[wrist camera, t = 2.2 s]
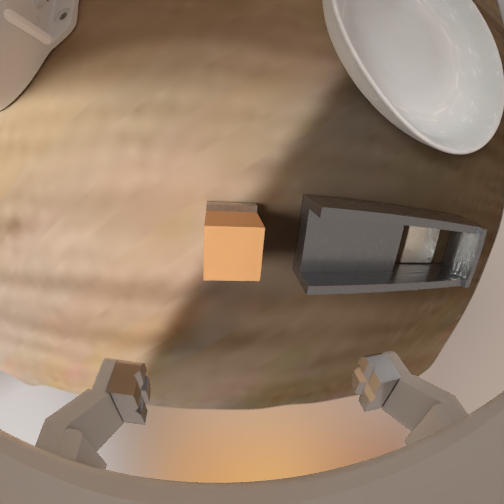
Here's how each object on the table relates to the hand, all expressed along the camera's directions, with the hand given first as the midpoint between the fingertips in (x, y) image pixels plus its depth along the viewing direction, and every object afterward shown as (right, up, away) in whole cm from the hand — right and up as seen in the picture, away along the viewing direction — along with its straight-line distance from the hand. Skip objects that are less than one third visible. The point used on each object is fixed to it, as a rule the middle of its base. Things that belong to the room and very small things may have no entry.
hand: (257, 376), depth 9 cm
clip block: (-2, +6, +13) cm, 15 cm away
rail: (+14, +6, +16) cm, 22 cm away
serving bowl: (+14, +24, +9) cm, 30 cm away
